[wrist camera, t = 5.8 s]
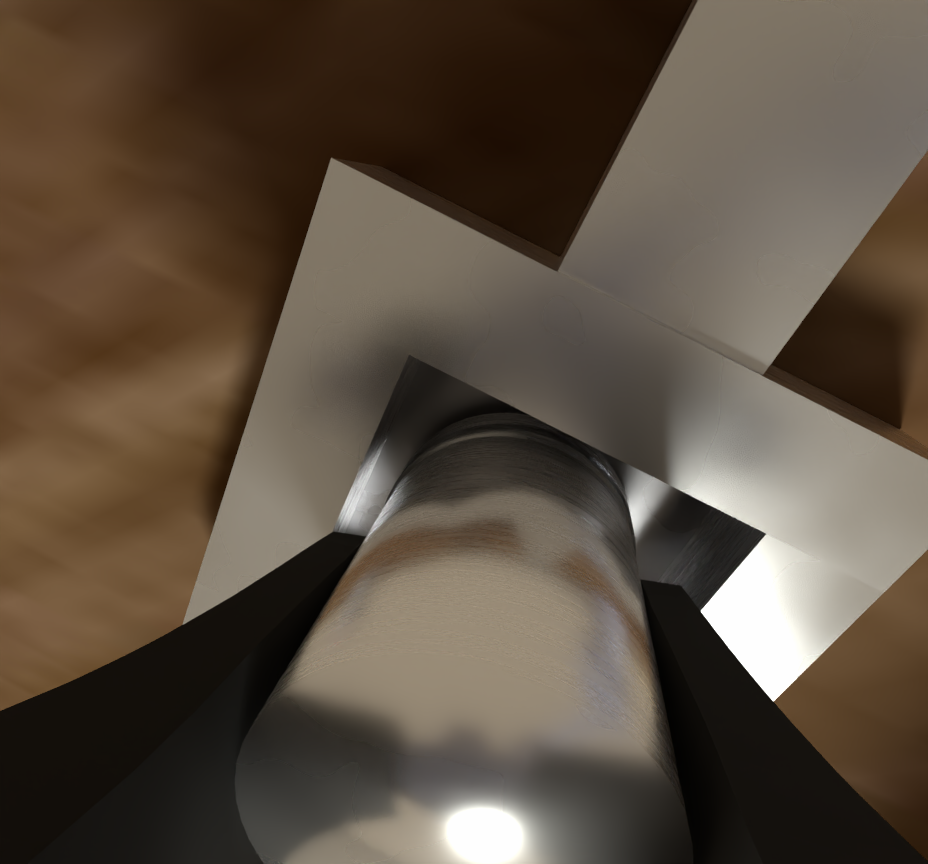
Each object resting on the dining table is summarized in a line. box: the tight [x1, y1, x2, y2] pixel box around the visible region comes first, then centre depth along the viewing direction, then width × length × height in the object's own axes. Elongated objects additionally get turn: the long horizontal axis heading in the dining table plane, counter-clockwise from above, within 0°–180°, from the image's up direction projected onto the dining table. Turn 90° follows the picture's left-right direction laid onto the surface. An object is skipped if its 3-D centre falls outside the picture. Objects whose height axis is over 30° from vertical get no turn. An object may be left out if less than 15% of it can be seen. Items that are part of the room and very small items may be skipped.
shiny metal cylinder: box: [235, 413, 693, 864], centre depth 8 cm, size 4×4×6 cm
